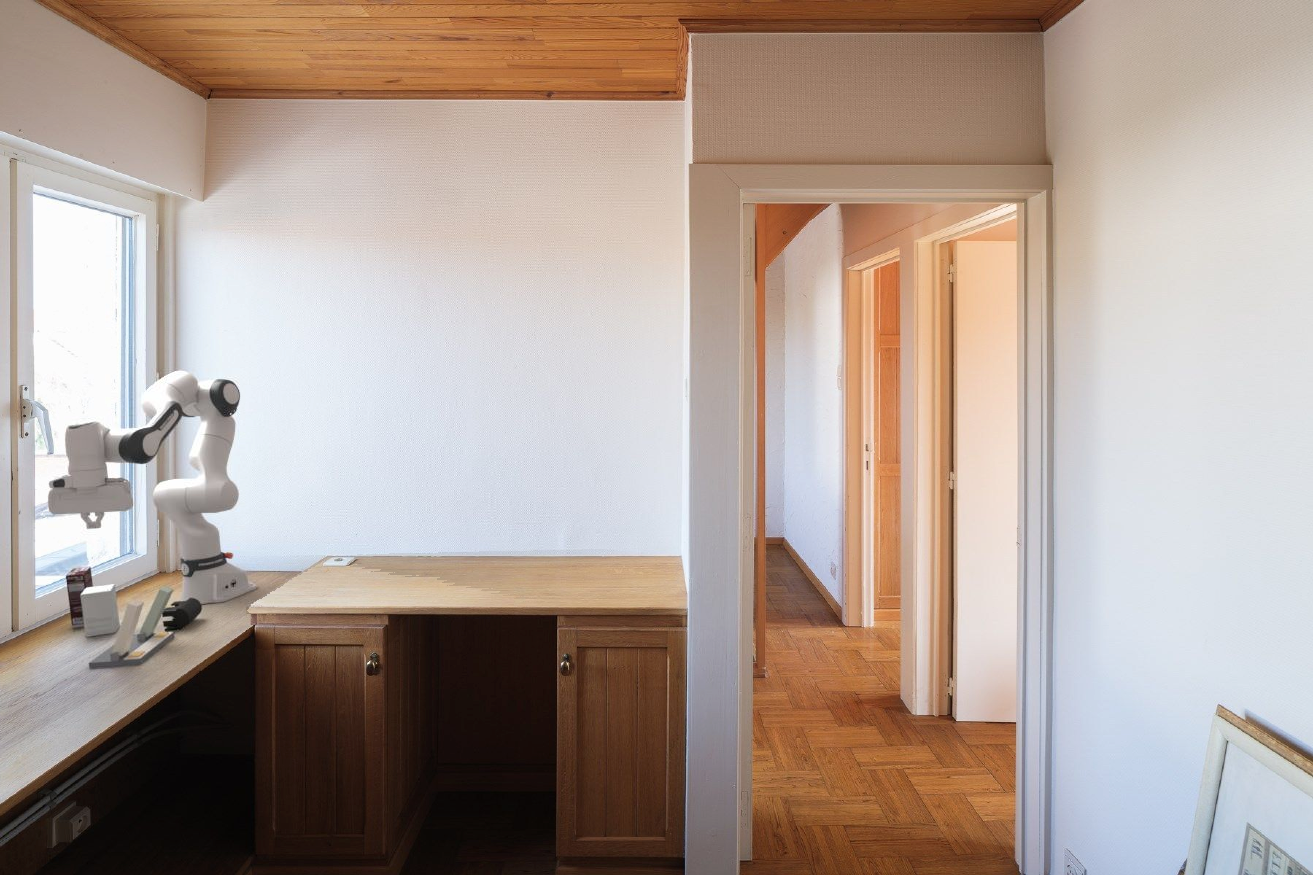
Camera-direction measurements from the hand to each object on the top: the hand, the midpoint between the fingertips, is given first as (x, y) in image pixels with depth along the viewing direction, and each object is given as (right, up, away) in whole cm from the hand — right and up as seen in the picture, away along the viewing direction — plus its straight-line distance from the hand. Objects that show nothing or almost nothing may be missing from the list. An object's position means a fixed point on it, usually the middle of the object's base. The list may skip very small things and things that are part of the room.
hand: (94, 528), depth 227 cm
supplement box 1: (-14, -30, +16) cm, 36 cm away
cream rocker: (+18, -31, -16) cm, 39 cm away
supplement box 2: (-3, -31, +8) cm, 32 cm away
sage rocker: (+16, -29, -2) cm, 33 cm away
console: (+17, -32, -9) cm, 37 cm away
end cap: (+18, -30, +12) cm, 37 cm away
